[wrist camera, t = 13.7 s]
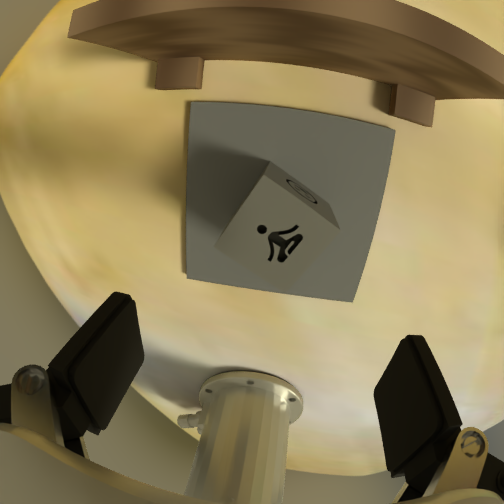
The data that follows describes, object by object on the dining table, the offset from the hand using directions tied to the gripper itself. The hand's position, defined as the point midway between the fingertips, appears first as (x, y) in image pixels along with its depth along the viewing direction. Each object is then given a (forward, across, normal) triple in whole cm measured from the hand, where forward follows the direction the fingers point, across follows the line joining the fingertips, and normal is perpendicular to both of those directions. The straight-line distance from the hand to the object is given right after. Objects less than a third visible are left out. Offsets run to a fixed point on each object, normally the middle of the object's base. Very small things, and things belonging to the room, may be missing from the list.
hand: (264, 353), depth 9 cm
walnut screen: (+12, 0, -13) cm, 18 cm away
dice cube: (+13, 0, -2) cm, 13 cm away
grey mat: (+13, 0, -2) cm, 13 cm away
